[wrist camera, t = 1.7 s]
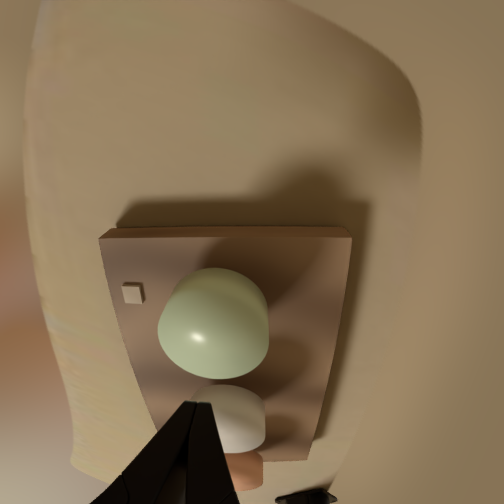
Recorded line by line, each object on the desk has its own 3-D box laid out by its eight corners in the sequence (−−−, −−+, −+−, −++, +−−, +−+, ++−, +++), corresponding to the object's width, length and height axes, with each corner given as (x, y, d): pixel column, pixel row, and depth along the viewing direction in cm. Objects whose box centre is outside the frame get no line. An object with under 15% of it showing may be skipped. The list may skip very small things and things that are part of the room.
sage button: (267, 350, 14) (267, 380, 12) (177, 347, 14) (167, 375, 12) (268, 268, 12) (270, 293, 11) (163, 267, 12) (148, 291, 11)
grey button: (264, 428, 17) (264, 454, 15) (195, 425, 17) (190, 450, 15) (265, 385, 15) (266, 414, 13) (184, 382, 15) (177, 409, 13)
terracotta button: (262, 471, 20) (262, 491, 18) (207, 468, 20) (205, 488, 18) (263, 447, 18) (263, 470, 16) (200, 444, 18) (196, 467, 16)
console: (305, 446, 23) (307, 461, 21) (171, 441, 23) (167, 456, 21) (344, 227, 15) (353, 239, 13) (111, 228, 15) (96, 239, 13)
